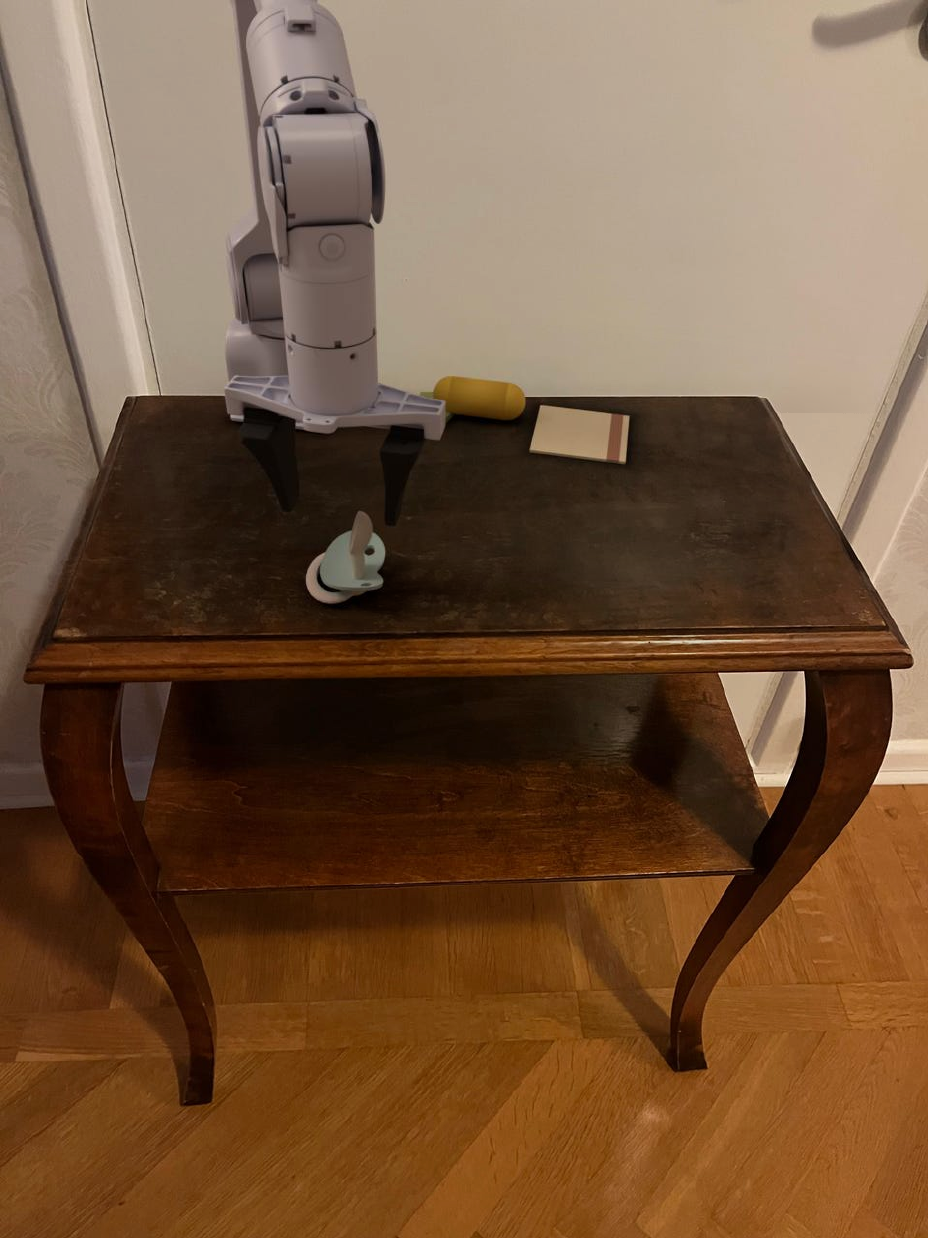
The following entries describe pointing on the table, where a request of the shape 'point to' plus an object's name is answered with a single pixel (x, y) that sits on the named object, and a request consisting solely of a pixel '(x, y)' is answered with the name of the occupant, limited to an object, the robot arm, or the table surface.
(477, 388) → the corn
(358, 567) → the pacifier
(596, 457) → the towel
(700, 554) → the table surface
